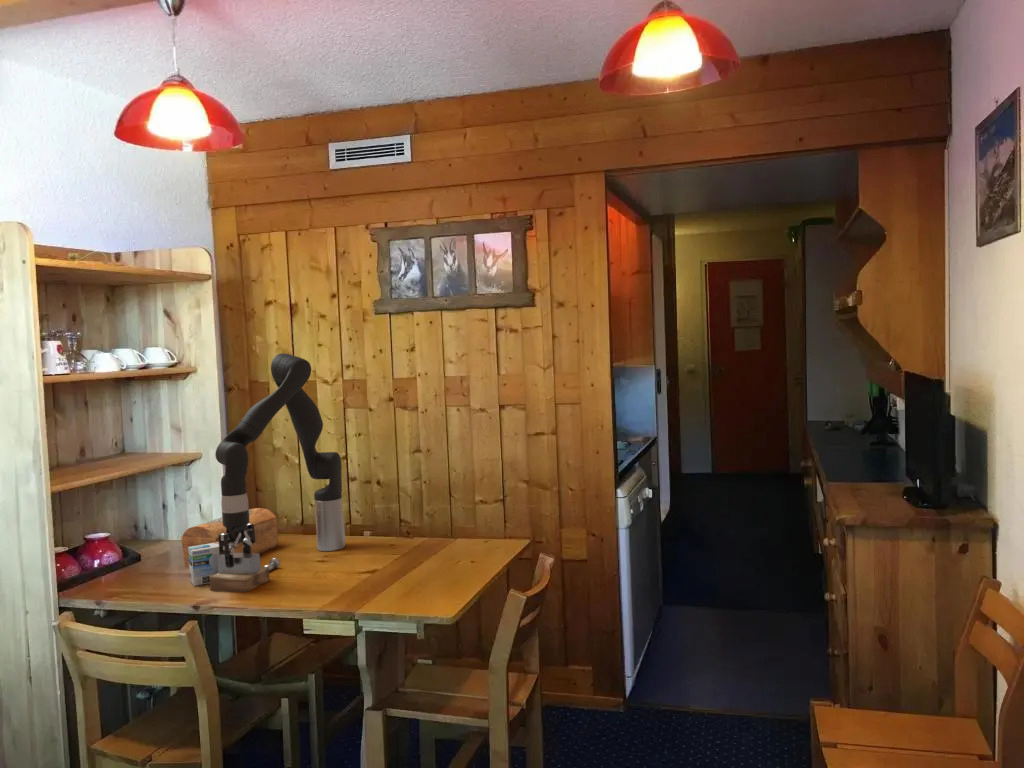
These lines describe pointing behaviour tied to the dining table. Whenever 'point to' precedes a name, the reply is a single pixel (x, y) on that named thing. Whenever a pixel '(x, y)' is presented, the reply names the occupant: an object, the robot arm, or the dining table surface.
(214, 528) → the wooden box
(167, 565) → the dining table surface
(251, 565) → the block
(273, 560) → the bolt
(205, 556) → the light bulb box
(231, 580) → the stand
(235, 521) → the robot arm
